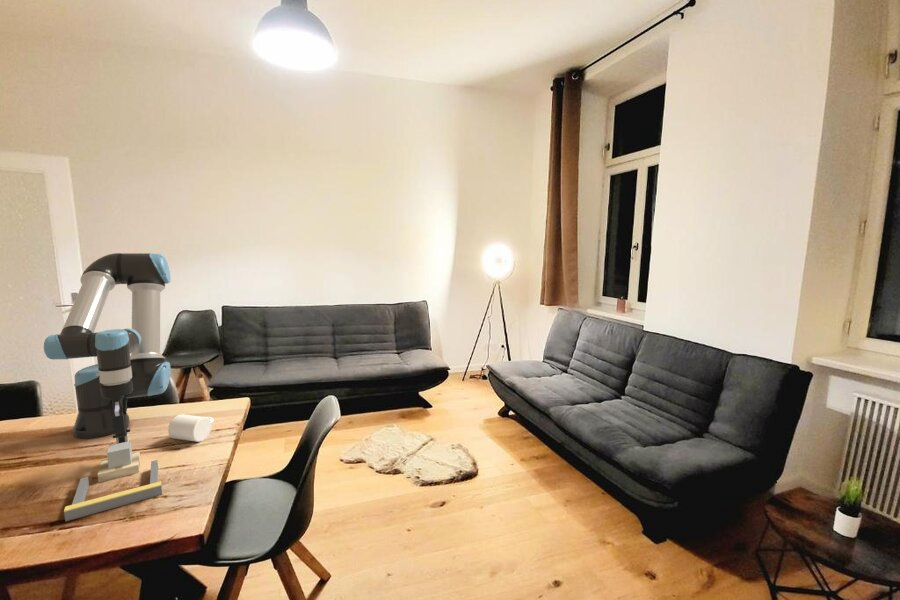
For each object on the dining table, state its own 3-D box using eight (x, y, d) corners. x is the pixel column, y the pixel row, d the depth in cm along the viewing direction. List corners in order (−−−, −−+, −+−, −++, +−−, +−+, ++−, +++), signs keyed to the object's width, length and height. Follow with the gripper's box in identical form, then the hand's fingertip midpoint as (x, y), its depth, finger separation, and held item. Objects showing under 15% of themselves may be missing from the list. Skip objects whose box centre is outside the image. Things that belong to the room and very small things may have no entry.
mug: (194, 446, 133) (192, 423, 132) (168, 442, 135) (166, 420, 133) (221, 429, 144) (219, 408, 143) (197, 426, 146) (196, 406, 145)
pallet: (102, 469, 119) (101, 460, 119) (140, 460, 125) (139, 451, 124) (98, 484, 112) (97, 474, 112) (139, 474, 117) (138, 464, 117)
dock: (76, 488, 109) (75, 478, 109) (162, 466, 120) (161, 458, 120) (65, 521, 97) (63, 511, 96) (162, 494, 107) (161, 484, 107)
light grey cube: (110, 461, 119) (109, 445, 118) (132, 456, 121) (130, 440, 121) (108, 469, 114) (106, 452, 114) (130, 464, 117) (129, 448, 117)
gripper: (102, 377, 123) (110, 449, 126) (96, 390, 113) (105, 468, 116) (133, 373, 128) (140, 443, 131) (130, 385, 117) (138, 460, 120)
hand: (123, 455), depth 123 cm, fingers closed
